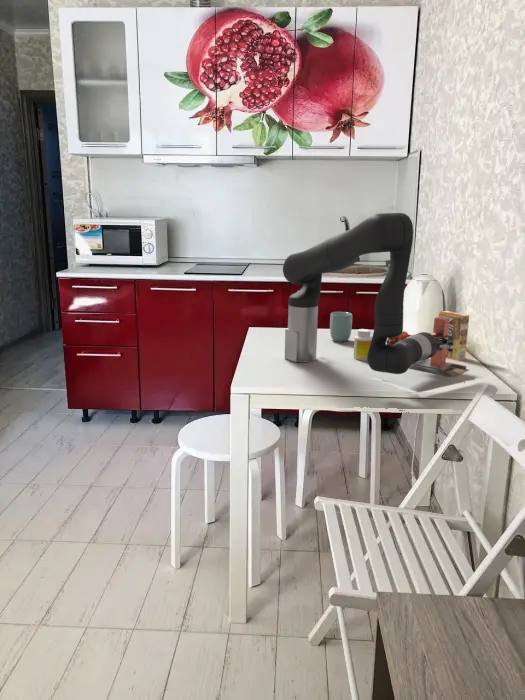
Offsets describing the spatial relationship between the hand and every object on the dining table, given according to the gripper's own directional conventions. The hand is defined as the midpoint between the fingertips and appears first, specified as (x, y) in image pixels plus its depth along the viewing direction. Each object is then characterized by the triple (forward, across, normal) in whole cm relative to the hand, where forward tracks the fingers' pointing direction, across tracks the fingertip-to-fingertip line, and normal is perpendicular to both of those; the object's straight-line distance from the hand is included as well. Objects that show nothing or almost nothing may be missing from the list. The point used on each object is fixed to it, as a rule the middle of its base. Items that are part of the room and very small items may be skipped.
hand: (444, 338), depth 172 cm
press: (-3, +4, +10) cm, 11 cm away
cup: (+12, +44, +10) cm, 47 cm away
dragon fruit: (+10, +19, +10) cm, 24 cm away
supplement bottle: (-8, +22, +10) cm, 26 cm away
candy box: (+14, +3, +10) cm, 17 cm away
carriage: (-3, +2, +8) cm, 9 cm away
